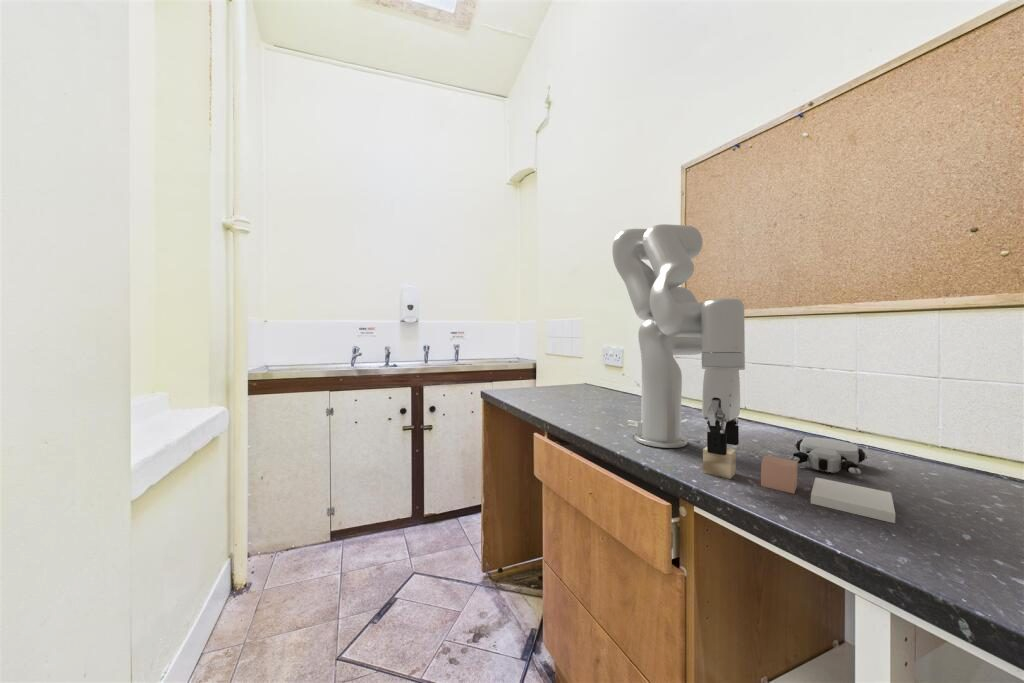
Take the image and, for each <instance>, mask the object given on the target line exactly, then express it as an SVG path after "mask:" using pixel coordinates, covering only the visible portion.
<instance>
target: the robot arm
mask: <svg viewBox="0 0 1024 683" xmlns="http://www.w3.org/2000/svg"><path fill="white" fill-rule="evenodd" d="M702 248H703V237H702V234H701V232H700V231H699V229H698V228H696V227H695V226H693V225H687V224H686V225H685V224H656V225H654V226H653V225H652V226H651V227H649V228H629V229H628V228H627V229H624V230H622V231H620V232H619V233H617V234H616V235H615V237H614V239H613V242H612V260H613V264H614V266H615V269H616V271H617V272H618V274H619V276H620V277H621V279H622V281H623V282H624V284H625V286H626V289H627V292H628V293H627V294H628V296H629V299H630V302H631V305H632V306H633V309H634V312H635V314H636V315H637V317H638V318H639V319H640V320H643V322H642V323H641V324H640V326H639V329H638V332H637V334H638V335H637V338H638V343H639V344H638V345H639V349H640V350H639V351H640V358H641V399H640V400H641V403H640V404H641V405H640V406H641V410H640V412H641V413H640V418H641V419H640V420H639V421H636V420H632V419H628V420H627V422H626V425H627V429H631V430H635V431H637V432H636V433H635V434H634V440H635V441H637V442H638V443H640V444H642V445H645V446H648V447H649V446H650V447H654V448H655V447H656V448H661V449H662V448H663V449H677V448H684V447H685V446H687V445H688V438H687V437H686V436H684V435H682V433H681V432H682V430H681V429H682V423H681V422H682V389H683V388H682V386H683V385H682V384H683V382H682V380H683V376H682V375H683V374H682V371H681V367H680V366H679V364H678V363H677V361H676V359H675V357H674V356H684V355H685V356H687V355H688V356H690V355H691V356H692V355H693V356H694V355H701V369H702V370H704V374H703V380H702V381H703V382H702V400H701V402H702V404H701V405H702V406H701V416H702V419H703V420H706V424H707V426H706V427H707V428H706V439H707V441H706V447H707V451H708V453H713V454H719V455H726V454H727V448H728V445H731V446H737V445H739V440H740V439H739V435H740V434H739V427H740V426H739V418H738V417H739V415H740V411H741V385H740V384H741V383H740V379H741V378H740V371H741V370H742V371H744V370H745V369H746V363H745V362H746V358H745V357H746V356H745V355H746V352H745V351H746V350H745V349H746V347H745V342H746V340H745V305H744V303H743V301H742V300H740V299H738V298H729V297H728V298H715V299H708V300H705V301H704V302H699V301H698V300H697V298H696V296H695V294H694V293H693V292H692V291H691V290H690V289H688V288H686V287H683V286H681V285H683V284H685V282H687V281H689V280H690V279H691V277H692V275H693V274H694V271H695V265H694V262H693V261H692V259H694V258H696V257H697V256H698V255H700V253H701V250H702ZM644 260H646V261H647V260H648V261H649V263H650V265H651V266H650V265H648V264H647V262H644Z"/></svg>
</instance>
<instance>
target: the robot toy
mask: <svg viewBox="0 0 1024 683" xmlns="http://www.w3.org/2000/svg"><path fill="white" fill-rule="evenodd" d="M794 447H795V448H796V449H797V451H798V452H795V453H793V455H790V456H789V457H788V460H793V461H798V464H802V463H806V462H808V464H809V465H810V467H811V468H812V469H813V470H817V471H819V470H820V472H824V471H825V472H824V473H829V472H831V474H836V473H838V472H839V471H841V470H842V469H843V470H844V471H845V472H846V473H849V474H852V475H853V474H858V475H860V474H861V473H862V471H861V470H860V468H859V466H858V463H859V464H861V463H862V462H863V461H865V459H866V460H867V459H868V451H869V447H868V446H865V451H863V449H862V448H859V446H858V445H856V444H854V443H852V442H851V443H850V442H848V441H847V442H846V441H841V440H838V439H832V438H824V437H816V436H815V437H812V436H807V437H804V438H802V439H800V435H797V437H796V440H795V442H794Z"/></svg>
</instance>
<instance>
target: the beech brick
mask: <svg viewBox="0 0 1024 683" xmlns="http://www.w3.org/2000/svg"><path fill="white" fill-rule="evenodd" d="M736 454H737V450H736V449H734V448H733V449H732V448H728V447H727V454H726V455H719V454H713V453H708V451H707V446H706V447H704V448H702V473H703V474H707V473H708V475H710V476H711V475H712V476H715V475H716V476H715V477H720V476H721V477H720V478H725V479H728V480H731V479H732V478H733V477H734V476H735V475H736V464H737V463H736V458H737V455H736Z"/></svg>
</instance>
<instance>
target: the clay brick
mask: <svg viewBox="0 0 1024 683" xmlns="http://www.w3.org/2000/svg"><path fill="white" fill-rule="evenodd" d="M798 465H799V463H798V461H793V460H789V458H788V459H786V458H783V457H776V456H770V455H766V454H765V455H764V457H763V458H762V459H761V465H760V466H761V469H760V471H761V473H760V474H761V475H760V486H761V487H763V488H768V489H773V490H777V491H780V492H781V491H782V492H786V493H789V494H790V493H791V494H795V492H796V490H797V488H798V468H799V467H798Z"/></svg>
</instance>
